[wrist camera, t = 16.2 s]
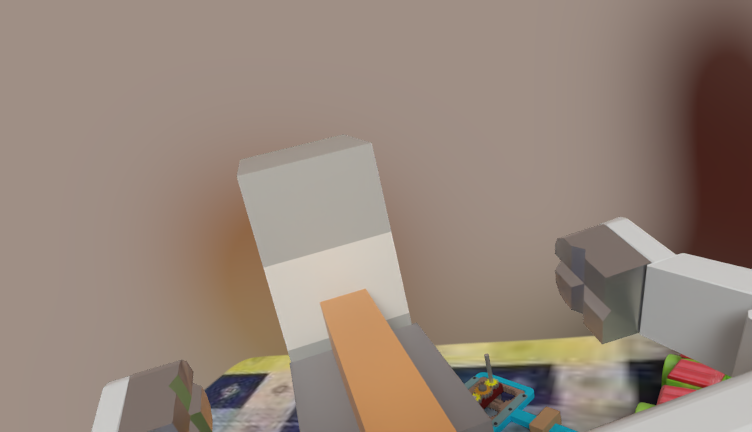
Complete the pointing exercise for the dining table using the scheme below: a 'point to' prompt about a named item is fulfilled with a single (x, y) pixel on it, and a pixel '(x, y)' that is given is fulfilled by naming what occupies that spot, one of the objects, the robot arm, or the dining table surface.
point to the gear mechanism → (511, 403)
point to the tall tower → (321, 235)
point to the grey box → (331, 403)
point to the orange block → (379, 370)
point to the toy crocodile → (683, 378)
